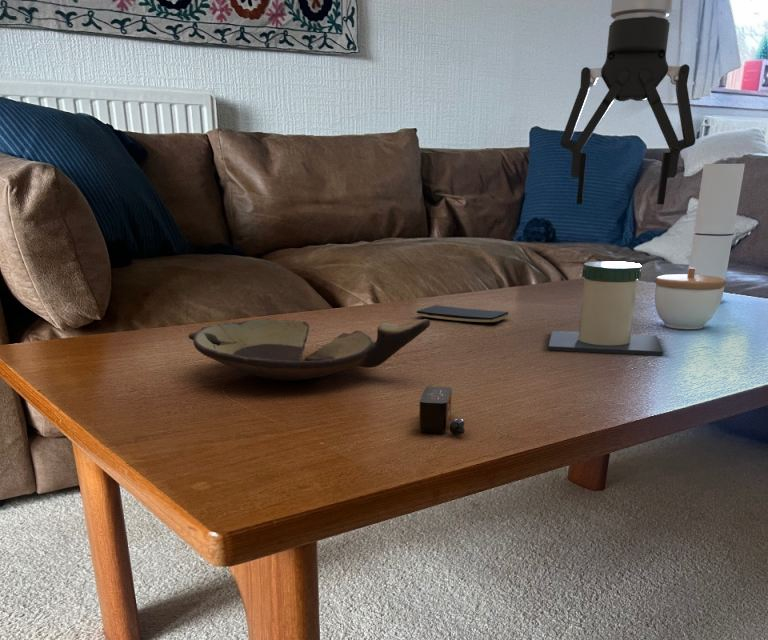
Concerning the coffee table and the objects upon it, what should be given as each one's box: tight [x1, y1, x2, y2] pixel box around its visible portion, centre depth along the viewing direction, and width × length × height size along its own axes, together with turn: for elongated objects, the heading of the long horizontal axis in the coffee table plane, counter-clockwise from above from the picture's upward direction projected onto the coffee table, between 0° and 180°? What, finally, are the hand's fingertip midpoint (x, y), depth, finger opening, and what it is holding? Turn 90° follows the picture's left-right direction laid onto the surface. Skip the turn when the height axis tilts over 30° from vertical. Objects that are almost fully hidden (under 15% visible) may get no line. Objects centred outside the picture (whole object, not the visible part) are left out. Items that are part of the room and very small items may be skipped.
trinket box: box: [654, 267, 726, 330], centre depth 129 cm, size 11×11×9 cm
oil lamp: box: [188, 318, 431, 382], centre depth 99 cm, size 22×30×8 cm
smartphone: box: [416, 304, 510, 323], centre depth 138 cm, size 7×1×15 cm
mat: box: [547, 330, 664, 356], centre depth 118 cm, size 16×12×1 cm
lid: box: [581, 260, 642, 281], centre depth 114 cm, size 8×8×2 cm
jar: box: [578, 277, 639, 346], centre depth 116 cm, size 8×8×10 cm
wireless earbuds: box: [418, 385, 465, 435], centre depth 80 cm, size 5×7×3 cm, turn 170°
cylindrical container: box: [687, 163, 746, 303], centre depth 151 cm, size 7×7×25 cm
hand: (619, 203), depth 110 cm, fingers open, 10 cm apart
